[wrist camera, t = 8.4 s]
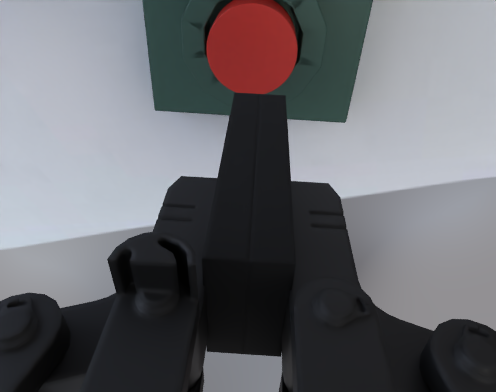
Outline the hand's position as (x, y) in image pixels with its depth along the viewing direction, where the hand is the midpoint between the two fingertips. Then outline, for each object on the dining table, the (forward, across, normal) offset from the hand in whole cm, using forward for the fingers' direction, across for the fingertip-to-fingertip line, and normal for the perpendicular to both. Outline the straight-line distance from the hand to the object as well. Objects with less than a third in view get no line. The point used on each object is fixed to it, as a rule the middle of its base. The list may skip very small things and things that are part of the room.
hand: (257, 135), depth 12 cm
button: (+10, -1, 0) cm, 10 cm away
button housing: (+14, -1, 0) cm, 14 cm away
